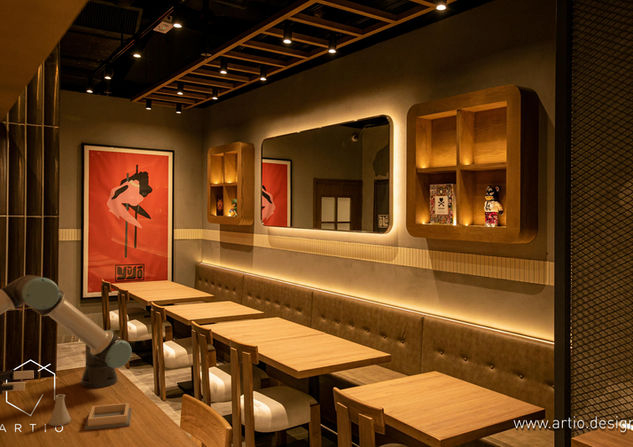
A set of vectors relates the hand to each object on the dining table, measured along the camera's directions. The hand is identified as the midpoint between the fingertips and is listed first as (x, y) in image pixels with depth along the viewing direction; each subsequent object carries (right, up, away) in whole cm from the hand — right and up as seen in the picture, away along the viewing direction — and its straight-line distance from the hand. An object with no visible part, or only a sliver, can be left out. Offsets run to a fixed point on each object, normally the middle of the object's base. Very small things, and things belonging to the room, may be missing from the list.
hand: (29, 379), depth 187 cm
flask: (+9, -17, +3) cm, 20 cm away
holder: (+26, -17, +6) cm, 32 cm away
